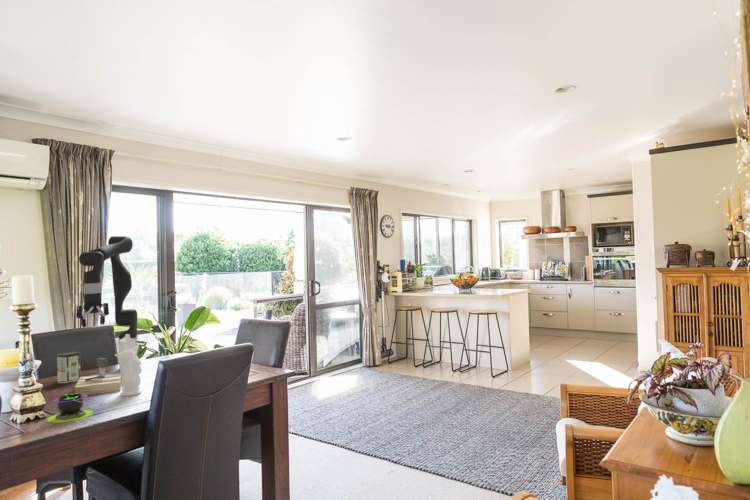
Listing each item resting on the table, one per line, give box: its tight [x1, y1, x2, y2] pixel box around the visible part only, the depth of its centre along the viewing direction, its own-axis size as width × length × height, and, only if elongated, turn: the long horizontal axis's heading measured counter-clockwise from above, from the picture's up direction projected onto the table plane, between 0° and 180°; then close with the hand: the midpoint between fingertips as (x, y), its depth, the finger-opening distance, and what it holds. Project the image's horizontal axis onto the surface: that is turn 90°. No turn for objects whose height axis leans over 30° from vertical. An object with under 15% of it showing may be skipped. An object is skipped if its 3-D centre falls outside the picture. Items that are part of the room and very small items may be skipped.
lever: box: [85, 357, 109, 381], centre depth 230 cm, size 9×6×9 cm, turn 150°
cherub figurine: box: [114, 342, 142, 397], centre depth 218 cm, size 12×12×22 cm
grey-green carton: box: [56, 350, 82, 384], centre depth 247 cm, size 10×10×14 cm
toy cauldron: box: [46, 385, 94, 424], centre depth 186 cm, size 15×15×11 cm
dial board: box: [74, 371, 122, 397], centre depth 230 cm, size 24×18×4 cm
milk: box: [119, 334, 136, 378], centre depth 253 cm, size 6×6×22 cm
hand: (93, 325), depth 236 cm, fingers open, 8 cm apart
